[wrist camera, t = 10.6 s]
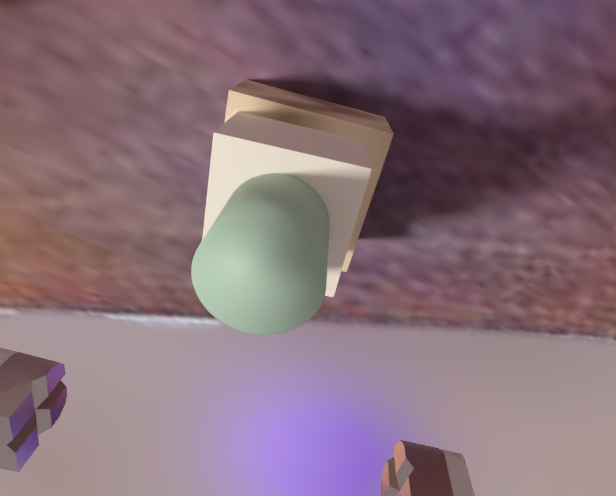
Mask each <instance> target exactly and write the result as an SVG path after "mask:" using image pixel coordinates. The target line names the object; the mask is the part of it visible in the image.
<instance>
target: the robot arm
mask: <svg viewBox="0 0 616 496" xmlns="http://www.w3.org/2000/svg"><path fill="white" fill-rule="evenodd" d="M64 375H65V367H64V364H62V363H58V362H55V361H51V360H47V359H43V358H39V357H35V356H31V355H27V354H24V353H20V352H16V351H11V350H7V349H3V348H0V468H1V469H6V470H11V471H17V472H19V471H20V470H21V469H22V467H23V466H24V465H25V463H26V462H27V461H28V459H29V458H30V456H31V455H32V454H33V452H34V451H35V450H36V448H37V447H38V446H39V434H41V433H42V432H44V431H46V430H48V429H50V428H52V426H53V425H54V424H55V422H56V421H57V419H58V418H59V416H60V414H61V412H62V410H63V408H64V405H65V402H66V397H67V387H66V386H65V385H64V384H63V383H62V381H61V379H62V378H63V376H64ZM393 450H394V457H393V458H392V459H389V460H388V461H387V463H386V465H385V467H384V469H383V474H382V478H381V496H475V495H474V492H473V488H472V484H471V481H470V477H469V474H468V470H467V466H466V462H465V459H464V457H463V456H462V454H459V453H455V452H450V451H446V450H442V449H441V450H440V449H439V448H435V447H430V446H425V445H421V444H416V443H411V442H407V441H402V440H400V441H399V442H397V444H396V445H395V447H394V449H393Z"/></svg>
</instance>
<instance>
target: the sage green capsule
mask: <svg viewBox="0 0 616 496" xmlns="http://www.w3.org/2000/svg"><path fill="white" fill-rule="evenodd" d="M329 229H330V222H329V215H328V211H327V208H326V206H325V204H324V202H323V200H322V199H321V197H320V196H319V194H318V193H317V192H316V191H315V190H314V189H313V188H312V187H310V186H309V185H308V184H306V183H305V182H303V181H302V180H299V179H297V178H295V177H292V176H289V175H284V174H276V173H272V174H263V175H259V176H256V177H253V178H251V179H249V180H247V181H245V182H244V183H242V184H241V185H240V186H239V187H238V188H237V189H236V190H235V191H234V192H233V193H232V195H231V197H230V198H229V200H228V201H227V203H226V204H225V206H224V207H223V209H222V211H221V212H220V214H219V215H218V217H217V218H216V220H215V222H214V223H213V225H212V226H211V228H210V229H209V231H208V233H207V234H206V236H205V237H204V239H203V240H202V242H201V243H200V245H199V247H198V248H197V250H196V252H195V255H194V258H193V262H192V271H191V274H192V282H193V286H194V289H195V291H196V294H197V296H198V297H199V299H200V301H201V302H202V304H203V305H204V306H205V308H206V309H207V310H208V311H209V312H210V313H211V314H212V315H213V316H214V317H216V318H217V319H218V320H220V321H221V322H223V323H224V324H226V325H228V326H230V327H232V328H234V329H237V330H239V331H243V332H246V333H251V334H259V335H273V334H280V333H284V332H288V331H290V330H293V329H296V328H297V327H300V326H301V325H303V324H304V323H306V322H307V321H308V320H309V319H311V318H312V317H313V316H314V314H315V313H316V312H317V311H318V309H319V308H320V306H321V304H322V302H323V299H324V296H325V292H326V283H327V265H328V247H329Z"/></svg>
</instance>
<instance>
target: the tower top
mask: <svg viewBox="0 0 616 496" xmlns="http://www.w3.org/2000/svg"><path fill="white" fill-rule="evenodd" d="M371 170H372V168H371V164H370V160H369V155H368V151H367V147H366V143H365V141H363V140H359V139H354V138H350V137H346V136H342V135H337V134H333V133H329V132H325V131H320V130H316V129H312V128H307V127H303V126H299V125H295V124H290V123H286V122H282V121H278V120H273V119H269V118H265V117H260V116H256V115H252V114H248V113H243V112H239V111H238V112H237V113H236V114H234V115H233V116H232V117H231V118H230V119H229V120H227V121H226V122H225V123H224V124H223V125H222V126H221V127H219V128H218V129H217V130H216V131H215V132H214V134H213V143H212V153H211V162H210V172H209V181H208V191H207V200H206V210H205V219H204V229H203V238H202V240H203V239H204V237H205V236H206V234H207V233H208V231H209V229H210V228H211V226H212V225H213V223H214V222H215V220H216V218H217V217H218V215H219V214H220V212H221V211H222V209H223V207H224V206H225V204H226V203H227V201H228V200H229V198H230V197H231V195H232V193H233V192H234V191H235V190H236V189H237V188H238V187H239V186H240V185H241V184H242V183H244V182H245V181H247V180H249V179H251V178H253V177H256V176H259V175H263V174H272V173H276V174H284V175H289V176H292V177H295V178H297V179H299V180H302V181H303V182H305V183H306V184H308V185H309V186H310V187H312V188H313V189H314V190H315V191H316V192H317V193H318V194H319V196H320V197H321V199H322V200H323V202H324V204H325V206H326V208H327V211H328V215H329V222H330V229H329V247H328V265H327V283H326V292H325V296H330V297H334V293H335V290H336V287H337V283H338V280H339V277H340V273H341V270H342V267H343V263H344V260H345V257H346V253H347V250H348V247H349V243H350V240H351V237H352V233H353V230H354V227H355V223H356V220H357V217H358V213H359V210H360V207H361V203H362V200H363V197H364V193H365V190H366V186H367V183H368V180H369V176H370V173H371Z"/></svg>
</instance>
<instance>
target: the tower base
mask: <svg viewBox="0 0 616 496" xmlns="http://www.w3.org/2000/svg"><path fill="white" fill-rule="evenodd" d="M238 111H239V112H243V113H248V114H252V115H256V116H260V117H265V118H269V119H273V120H278V121H282V122H286V123H290V124H295V125H299V126H303V127H307V128H312V129H316V130H320V131H325V132H329V133H333V134H337V135H342V136H346V137H350V138H354V139H359V140H363V141H365V143H366V147H367V151H368V155H369V160H370V164H371V168H372V170H371V173H370V176H369V180H368V183H367V186H366V190H365V193H364V197H363V200H362V203H361V207H360V210H359V213H358V217H357V220H356V223H355V227H354V230H353V233H352V237H351V240H350V243H349V247H348V250H347V253H346V257H345V260H344V263H343V267H342V270H341V271H344V272H347V269H348V266H349V263H350V261H351V258H352V255H353V252H354V249H355V246H356V243H357V240H358V237H359V234H360V231H361V228H362V226H363V223H364V220H365V217H366V214H367V211H368V208H369V205H370V202H371V199H372V196H373V193H374V190H375V188H376V185H377V182H378V179H379V176H380V173H381V170H382V167H383V164H384V161H385V158H386V155H387V152H388V150H389V147H390V144H391V141H392V138H393V135H394V133H393V131H392V129H391V127H390V125H389V124H388V122H387V120H386V118H385V117H384V116H380V115H376V114H373V113H369V112H365V111H362V110H358V109H354V108H350V107H347V106H343V105H339V104H335V103H332V102H328V101H324V100H321V99H317V98H313V97H309V96H306V95H302V94H298V93H295V92H291V91H287V90H283V89H280V88H276V87H272V86H269V85H265V84H261V83H257V82H254V81H250V80H245V81H243V82H242V83H240V84H238V85H237V86H235V87H233V88H232V89H230V90H229V94H228V101H227V108H226V115H225V122H226V121H227V120H229V119H230V118H231V117H232V116H233V115H234V114H236V113H237V112H238ZM225 122H224V123H225Z"/></svg>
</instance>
